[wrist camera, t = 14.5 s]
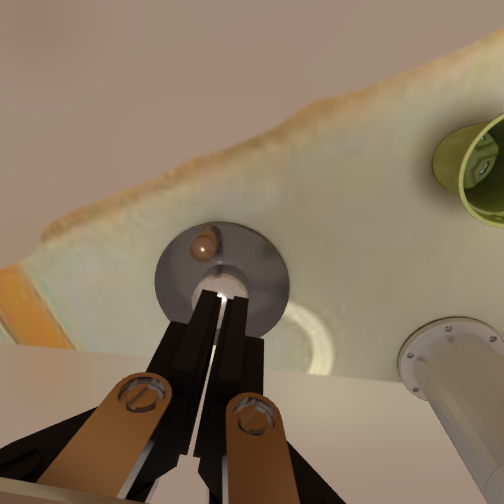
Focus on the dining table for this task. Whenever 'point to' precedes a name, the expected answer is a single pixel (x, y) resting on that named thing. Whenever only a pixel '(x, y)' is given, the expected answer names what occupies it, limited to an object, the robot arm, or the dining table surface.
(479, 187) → the plant pot
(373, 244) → the dining table surface
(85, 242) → the dining table surface
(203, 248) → the turntable
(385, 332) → the dining table surface
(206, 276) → the cover
